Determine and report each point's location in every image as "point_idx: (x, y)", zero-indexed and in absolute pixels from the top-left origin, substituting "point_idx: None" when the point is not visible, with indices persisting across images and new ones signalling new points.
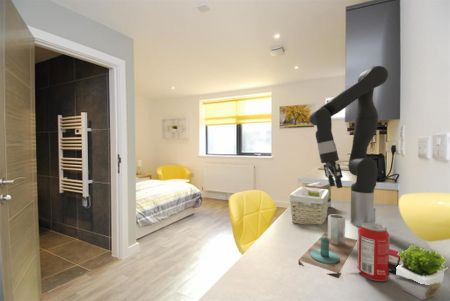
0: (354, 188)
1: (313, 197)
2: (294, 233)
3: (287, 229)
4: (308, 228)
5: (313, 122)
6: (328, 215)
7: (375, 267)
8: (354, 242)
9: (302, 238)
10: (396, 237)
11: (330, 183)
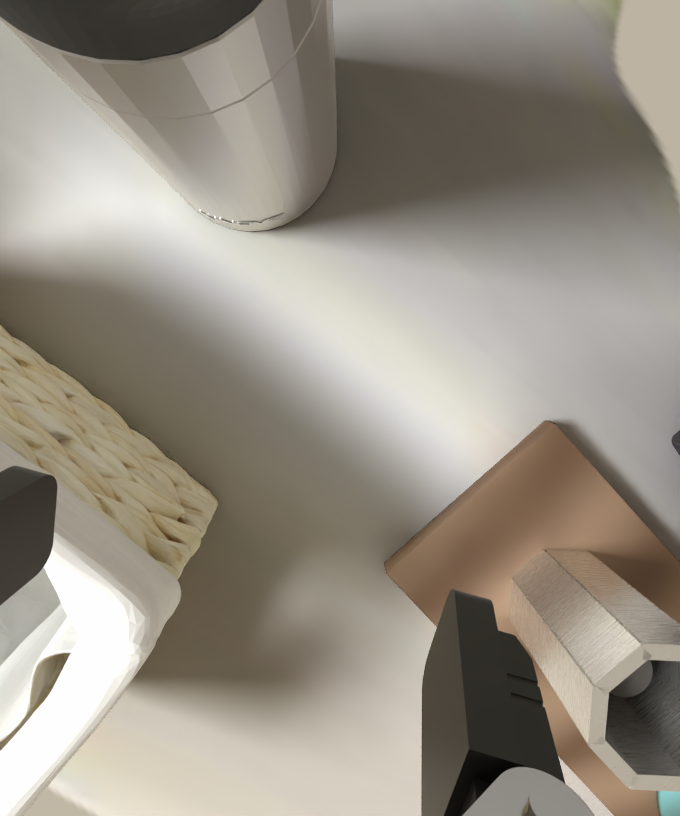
0: (133, 24)
1: (86, 721)
2: (309, 759)
3: (227, 777)
4: (224, 609)
5: None
6: (621, 778)
7: None
8: (590, 475)
9: (402, 744)
10: (488, 18)
11: (4, 589)
